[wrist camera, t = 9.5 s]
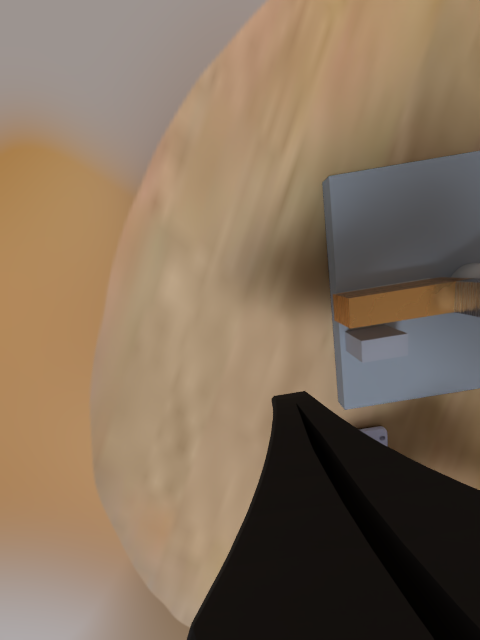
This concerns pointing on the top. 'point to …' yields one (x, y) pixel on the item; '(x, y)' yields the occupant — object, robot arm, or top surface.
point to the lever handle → (407, 301)
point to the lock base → (404, 275)
